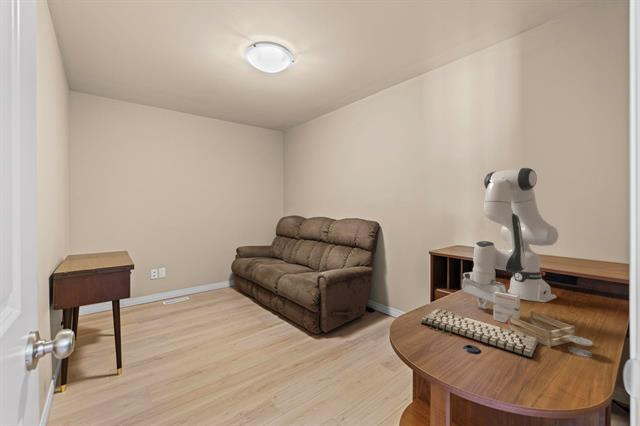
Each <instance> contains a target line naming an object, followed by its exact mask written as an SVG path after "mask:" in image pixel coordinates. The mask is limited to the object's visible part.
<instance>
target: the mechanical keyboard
mask: <svg viewBox="0 0 640 426" xmlns="http://www.w3.org/2000/svg"><path fill="white" fill-rule="evenodd" d="M420 323H421V324H422V325H421V324H420V325H421V327H422V328H424V326H426V327H425V329H427V328H428V329H427V330H430V329H431V331H434V332H438V333H440V334H443V335H445V336H448V337H449V336H450V337H453V338H455V339H456V338H457V339H460V340H464V341H467V342H469V343H473V344H477V345H479V346H483V347H486V348H493V349H496V350H499V351H503V352H506V353H508V354H510V355H511V354H512V355H515V356H518V357H520V358H523V359H527V360H530V361H533V359H534V357H535V355H536V352H537V349H536V347H537V345H538V343H539V342H537V338H535V337H531V336H528V335H527V336H524V334H521V333H517V332H514V331H512V330H508V328H507V329H506V328H501V327H500V326H497V325H493V324H489V323H486V322H483V321H480V320H476V319H473V318H468V317H463V316H461V315H457V314H455V315H454V313H453V311H450V310H449V311H447V309H446V310H445V309H441V308H437V309H434V310H433V311H432V312H430V313H428V314H427V315H425V316H424V317H422V318H421V322H420ZM423 325H424V326H423Z"/></svg>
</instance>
